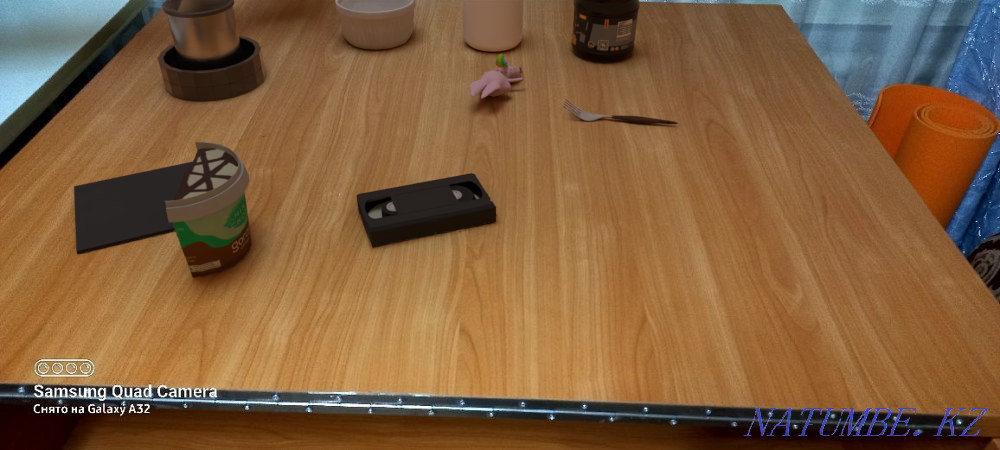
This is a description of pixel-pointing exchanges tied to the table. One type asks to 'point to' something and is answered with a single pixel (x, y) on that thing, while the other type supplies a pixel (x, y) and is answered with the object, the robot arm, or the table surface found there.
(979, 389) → the table surface
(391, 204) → the vhs tape
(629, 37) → the supplement container
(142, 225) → the mat
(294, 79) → the table surface
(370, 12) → the ramekin
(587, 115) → the fork
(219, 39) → the small pot
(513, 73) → the rabbit figure
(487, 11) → the cup
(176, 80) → the shallow dark brown bowl
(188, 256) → the food container
